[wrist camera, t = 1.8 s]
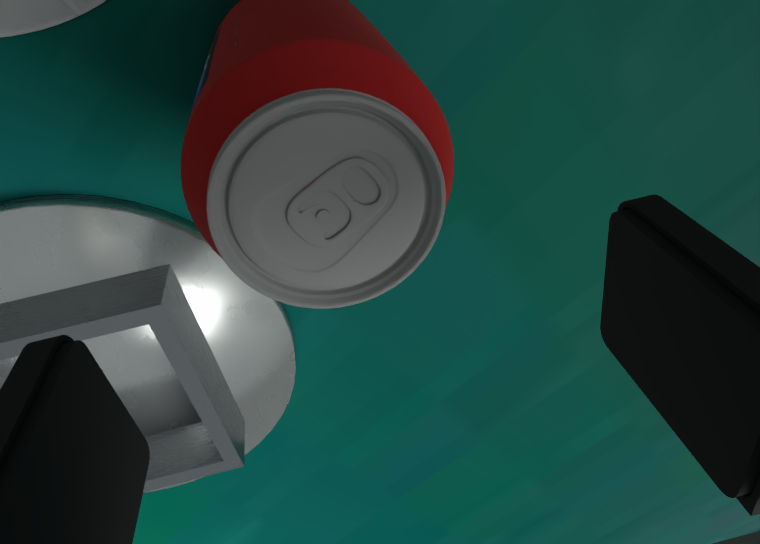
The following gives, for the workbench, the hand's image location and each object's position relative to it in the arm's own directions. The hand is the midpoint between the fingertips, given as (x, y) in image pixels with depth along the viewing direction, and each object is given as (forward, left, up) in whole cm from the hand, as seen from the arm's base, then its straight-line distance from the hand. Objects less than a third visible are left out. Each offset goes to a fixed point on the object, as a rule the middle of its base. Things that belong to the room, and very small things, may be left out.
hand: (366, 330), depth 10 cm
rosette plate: (+11, -13, -15) cm, 23 cm away
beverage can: (-1, 0, -16) cm, 16 cm away
